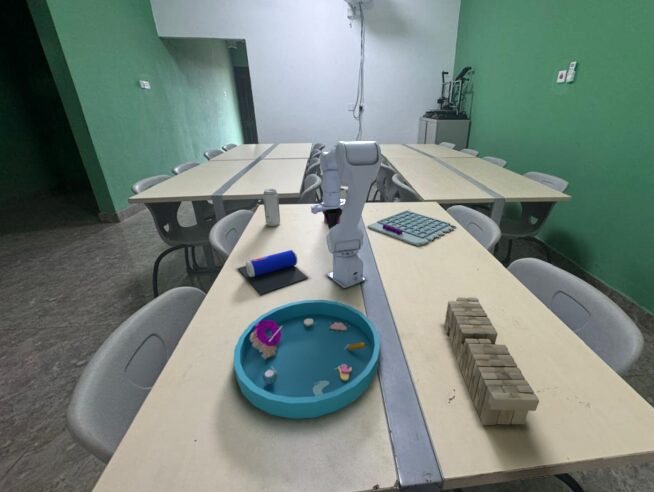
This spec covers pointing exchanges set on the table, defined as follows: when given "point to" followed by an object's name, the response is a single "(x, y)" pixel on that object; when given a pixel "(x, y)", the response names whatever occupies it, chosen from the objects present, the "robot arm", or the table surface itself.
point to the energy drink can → (271, 207)
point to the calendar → (412, 227)
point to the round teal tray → (307, 358)
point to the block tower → (487, 366)
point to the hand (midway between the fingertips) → (332, 229)
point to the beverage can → (271, 263)
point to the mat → (274, 279)
